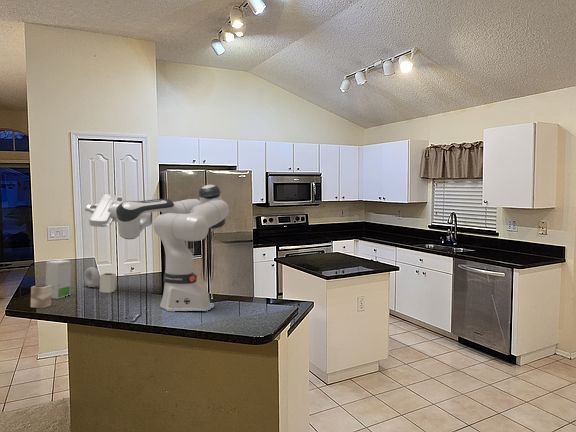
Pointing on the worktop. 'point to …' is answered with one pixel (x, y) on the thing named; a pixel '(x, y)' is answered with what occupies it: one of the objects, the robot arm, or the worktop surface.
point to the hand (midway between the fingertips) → (86, 207)
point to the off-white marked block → (107, 282)
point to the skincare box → (58, 277)
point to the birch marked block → (41, 296)
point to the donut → (95, 277)
